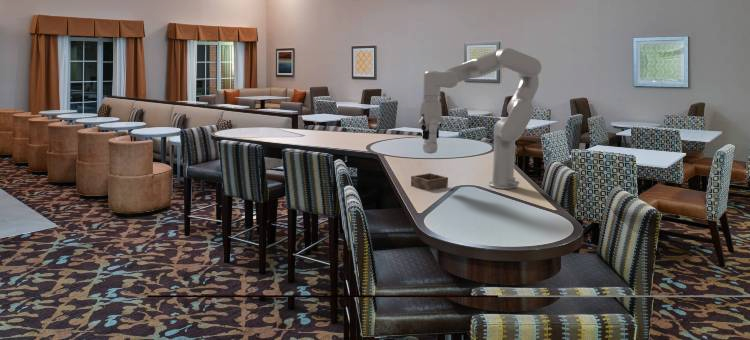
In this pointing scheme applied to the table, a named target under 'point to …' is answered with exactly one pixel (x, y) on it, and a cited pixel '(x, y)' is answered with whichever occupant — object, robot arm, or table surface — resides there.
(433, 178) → the square wooden frame
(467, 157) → the table surface
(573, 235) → the table surface
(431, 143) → the silver rounded threaded piece
